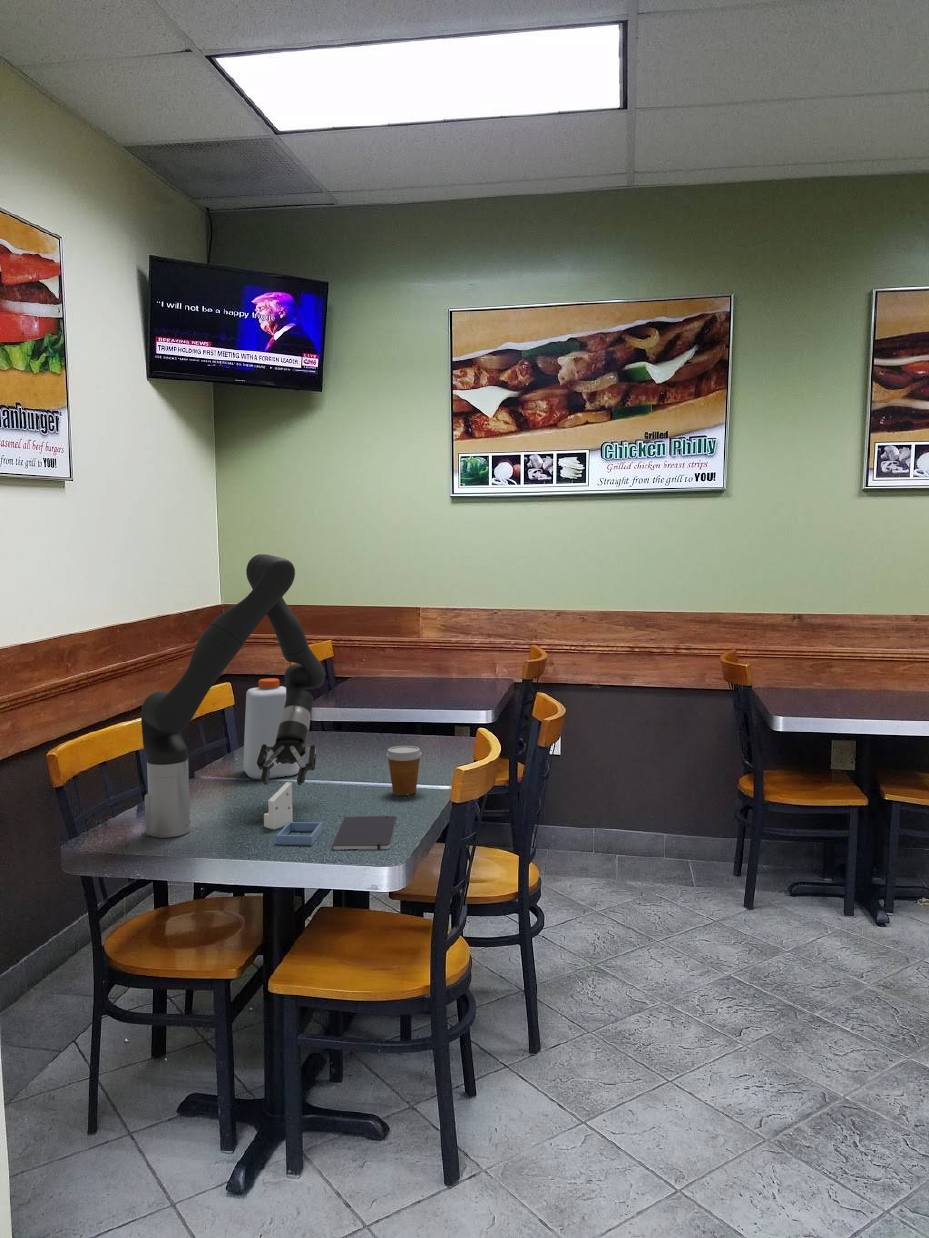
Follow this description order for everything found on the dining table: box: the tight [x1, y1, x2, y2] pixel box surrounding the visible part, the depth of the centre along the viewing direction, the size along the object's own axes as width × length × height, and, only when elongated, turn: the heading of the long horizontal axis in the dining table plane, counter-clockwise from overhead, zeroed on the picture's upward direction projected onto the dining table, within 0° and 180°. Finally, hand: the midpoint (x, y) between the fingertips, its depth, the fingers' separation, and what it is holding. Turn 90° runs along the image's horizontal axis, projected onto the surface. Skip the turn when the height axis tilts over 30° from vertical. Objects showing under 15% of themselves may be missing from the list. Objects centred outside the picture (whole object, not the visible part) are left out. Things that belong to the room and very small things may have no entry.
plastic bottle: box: [242, 677, 300, 780], centre depth 265 cm, size 15×15×28 cm
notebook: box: [331, 815, 397, 851], centre depth 208 cm, size 13×2×21 cm
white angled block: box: [263, 781, 294, 830], centre depth 216 cm, size 4×10×9 cm, turn 141°
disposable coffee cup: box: [386, 745, 423, 796], centre depth 243 cm, size 10×10×12 cm
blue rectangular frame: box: [275, 821, 324, 846], centre depth 206 cm, size 8×10×2 cm
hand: (282, 783), depth 219 cm, fingers open, 8 cm apart
